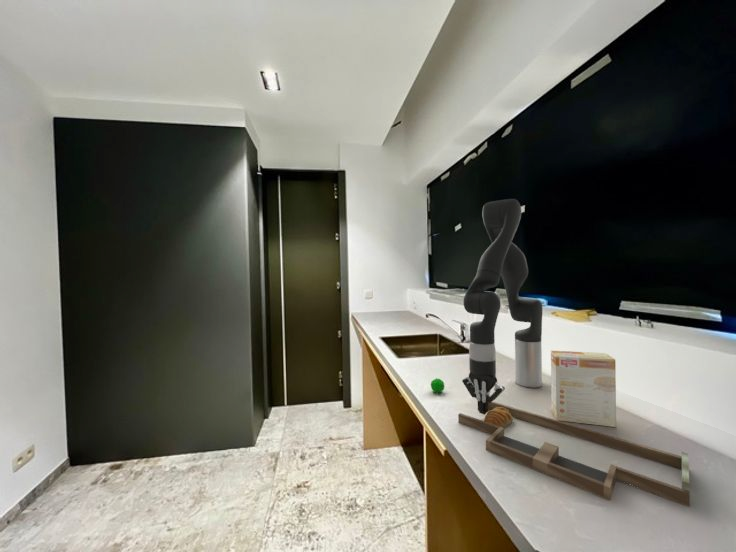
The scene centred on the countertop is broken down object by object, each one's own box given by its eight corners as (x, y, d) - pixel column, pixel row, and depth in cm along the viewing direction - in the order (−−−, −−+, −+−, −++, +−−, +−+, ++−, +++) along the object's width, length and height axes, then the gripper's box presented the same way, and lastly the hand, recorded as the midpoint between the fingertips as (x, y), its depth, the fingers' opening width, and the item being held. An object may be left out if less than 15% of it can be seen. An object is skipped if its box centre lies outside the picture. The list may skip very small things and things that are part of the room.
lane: (481, 405, 103) (480, 393, 103) (687, 469, 70) (688, 451, 69) (444, 432, 87) (443, 418, 87) (690, 533, 53) (690, 510, 53)
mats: (504, 437, 84) (504, 435, 84) (610, 475, 68) (610, 474, 68) (491, 449, 79) (491, 448, 79) (604, 495, 62) (604, 493, 62)
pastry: (500, 434, 86) (500, 420, 86) (477, 426, 91) (477, 413, 91) (514, 422, 93) (514, 409, 92) (492, 415, 98) (492, 403, 97)
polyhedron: (447, 392, 115) (447, 379, 115) (438, 395, 112) (438, 382, 112) (437, 388, 119) (436, 375, 119) (428, 391, 116) (427, 378, 116)
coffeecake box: (607, 416, 94) (606, 352, 94) (617, 428, 87) (616, 359, 87) (550, 410, 99) (550, 349, 99) (556, 420, 92) (555, 355, 92)
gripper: (509, 358, 93) (510, 415, 93) (468, 350, 102) (468, 402, 102) (498, 364, 87) (499, 425, 88) (456, 355, 97) (457, 410, 97)
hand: (483, 412), depth 95 cm, fingers closed
